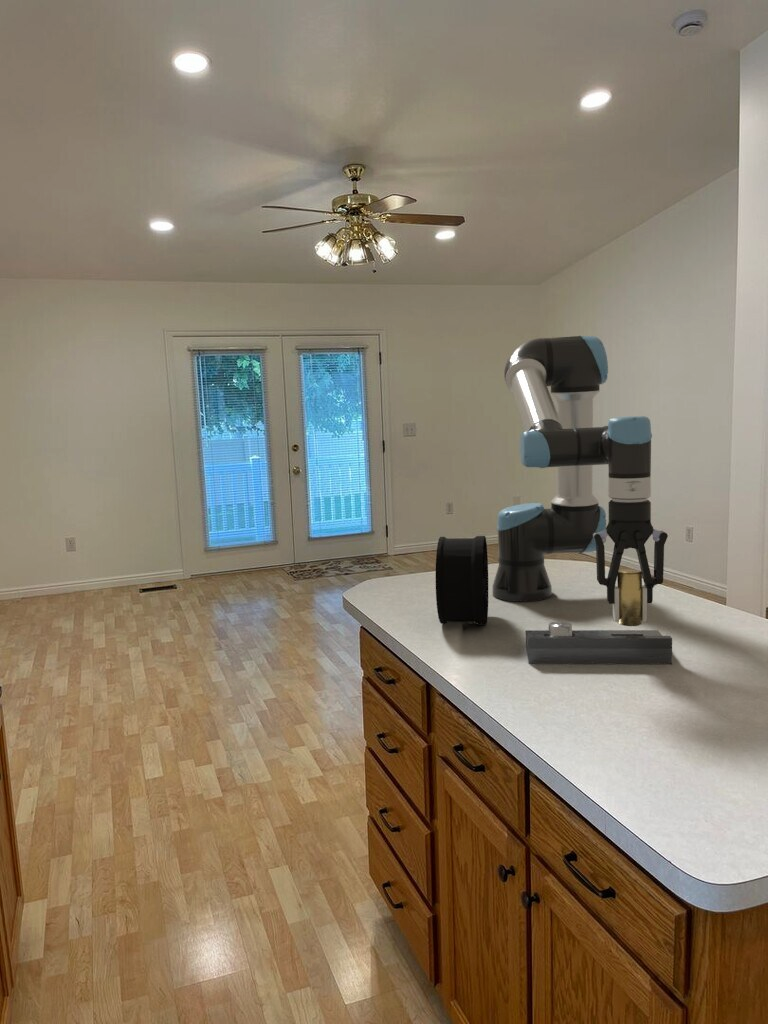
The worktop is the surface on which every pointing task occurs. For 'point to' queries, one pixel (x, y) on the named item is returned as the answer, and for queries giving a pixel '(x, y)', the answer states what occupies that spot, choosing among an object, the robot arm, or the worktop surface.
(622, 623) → the gold metal cylinder
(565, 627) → the silver metal cylinder
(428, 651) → the worktop surface
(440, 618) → the car wheel rim
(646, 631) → the jig
